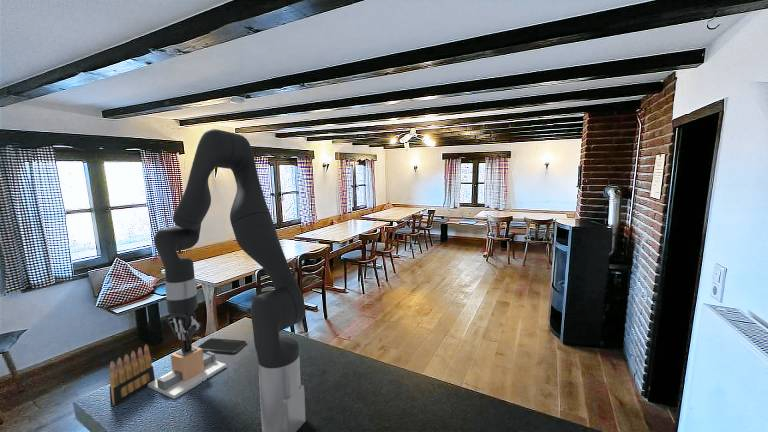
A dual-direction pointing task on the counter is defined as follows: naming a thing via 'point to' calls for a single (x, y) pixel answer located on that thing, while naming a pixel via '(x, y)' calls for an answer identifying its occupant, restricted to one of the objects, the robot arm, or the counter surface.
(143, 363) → the ammunition clip
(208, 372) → the rail board
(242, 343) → the phone
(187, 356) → the block
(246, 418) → the counter surface
